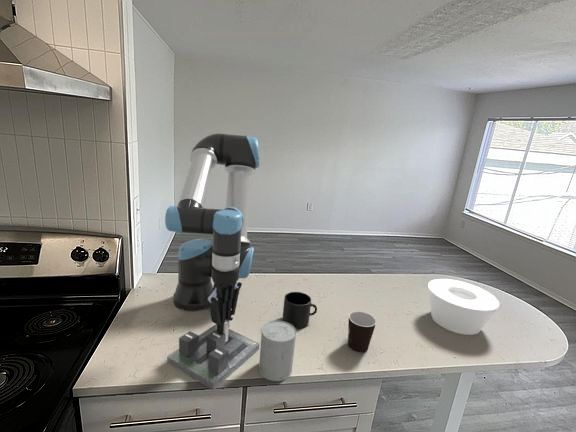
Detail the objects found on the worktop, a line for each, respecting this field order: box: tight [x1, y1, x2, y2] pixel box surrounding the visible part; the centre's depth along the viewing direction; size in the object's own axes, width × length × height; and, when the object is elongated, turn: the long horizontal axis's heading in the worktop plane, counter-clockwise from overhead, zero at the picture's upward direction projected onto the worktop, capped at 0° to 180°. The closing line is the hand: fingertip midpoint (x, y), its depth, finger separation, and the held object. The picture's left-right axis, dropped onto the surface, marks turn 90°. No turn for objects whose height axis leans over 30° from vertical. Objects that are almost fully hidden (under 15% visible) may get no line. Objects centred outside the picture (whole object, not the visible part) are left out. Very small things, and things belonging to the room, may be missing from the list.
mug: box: [281, 291, 318, 329], centre depth 115 cm, size 9×12×9 cm
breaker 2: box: [206, 330, 226, 352], centre depth 94 cm, size 4×4×5 cm
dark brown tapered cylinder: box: [347, 310, 377, 354], centre depth 105 cm, size 12×9×10 cm
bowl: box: [427, 278, 500, 336], centre depth 124 cm, size 24×24×12 cm
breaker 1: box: [178, 331, 200, 357], centre depth 92 cm, size 4×4×5 cm
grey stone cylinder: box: [258, 320, 297, 382], centre depth 91 cm, size 10×10×12 cm
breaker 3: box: [208, 346, 229, 374], centre depth 87 cm, size 4×4×5 cm
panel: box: [166, 323, 261, 391], centre depth 95 cm, size 17×20×2 cm
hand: (222, 339), depth 97 cm, fingers closed
